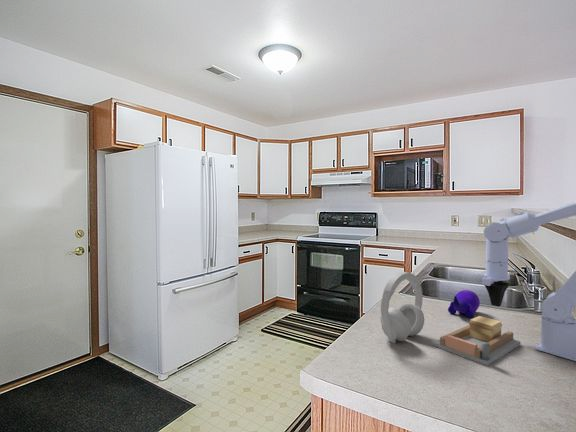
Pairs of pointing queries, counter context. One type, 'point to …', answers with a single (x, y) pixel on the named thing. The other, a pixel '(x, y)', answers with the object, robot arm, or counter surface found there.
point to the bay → (477, 345)
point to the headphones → (401, 310)
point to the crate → (485, 328)
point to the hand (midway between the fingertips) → (496, 305)
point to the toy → (465, 303)
